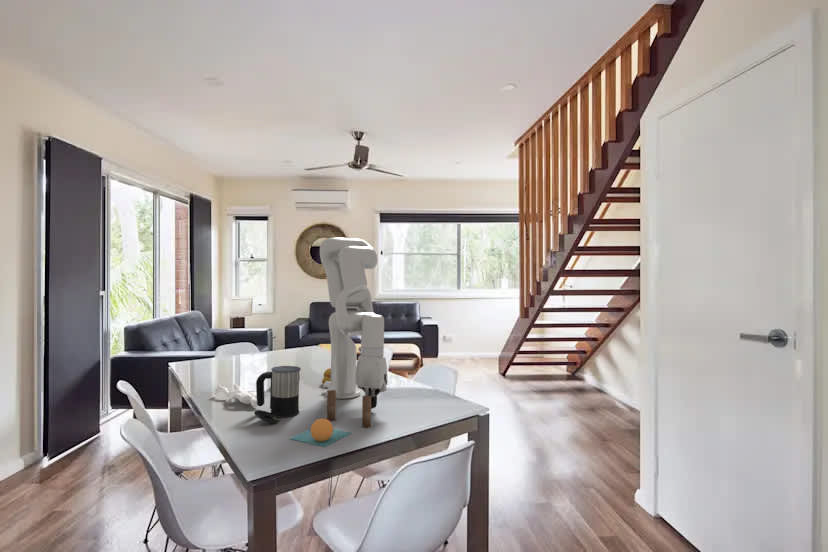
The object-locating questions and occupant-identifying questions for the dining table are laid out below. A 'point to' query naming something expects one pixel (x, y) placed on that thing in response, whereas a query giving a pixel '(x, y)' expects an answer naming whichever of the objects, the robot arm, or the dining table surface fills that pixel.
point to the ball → (321, 430)
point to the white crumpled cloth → (238, 395)
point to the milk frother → (279, 393)
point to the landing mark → (308, 438)
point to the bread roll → (327, 376)
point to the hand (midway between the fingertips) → (371, 407)
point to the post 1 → (331, 405)
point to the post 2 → (366, 411)
